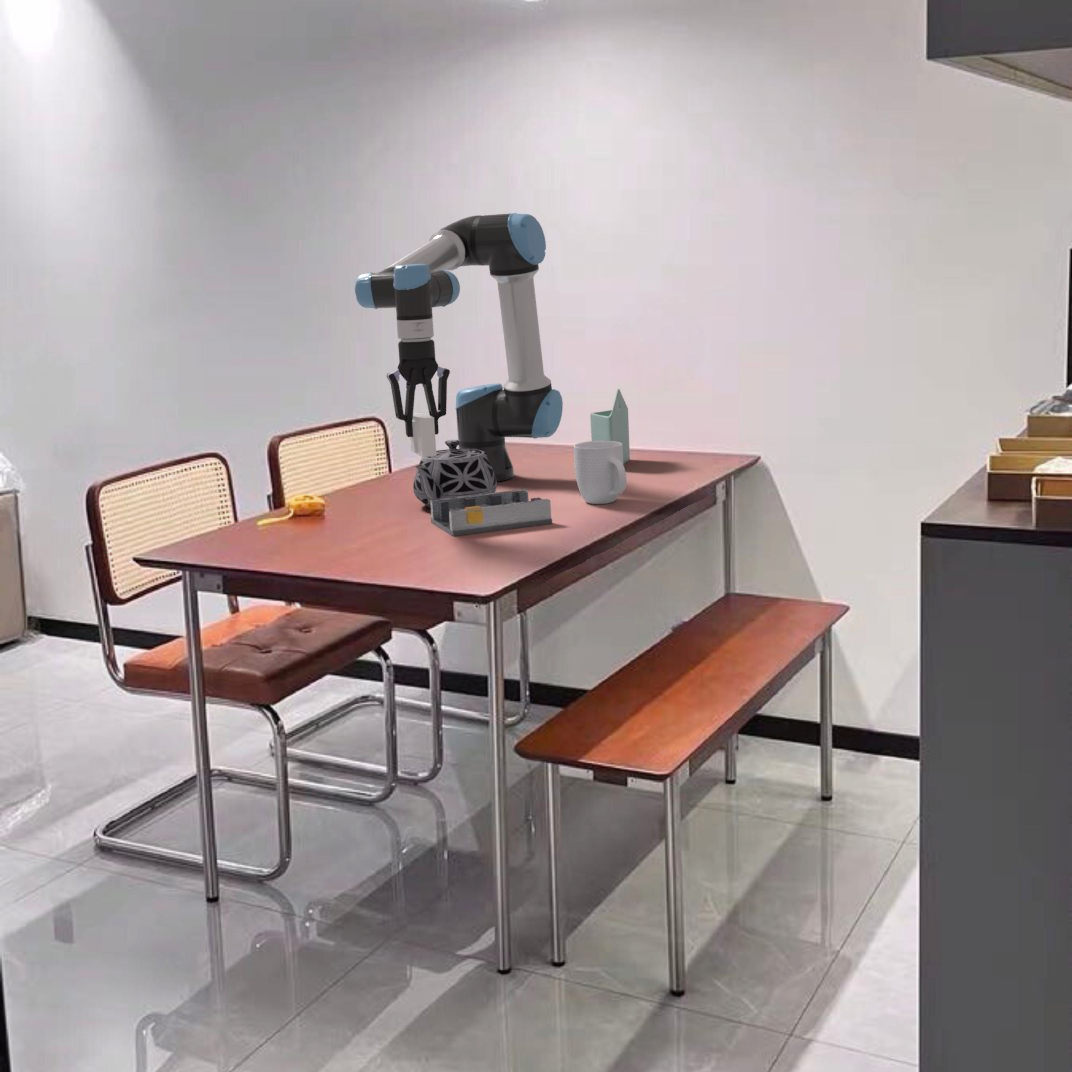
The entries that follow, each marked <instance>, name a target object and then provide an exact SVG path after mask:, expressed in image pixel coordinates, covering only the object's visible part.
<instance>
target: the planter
mask: <svg viewBox="0 0 1072 1072" xmlns="http://www.w3.org/2000/svg"><path fill="white" fill-rule="evenodd" d="M614 397H615V398H614V401H613V402H614V403H613V405H612V409H610V410H603V411H596V412H591V413H590V415H589V416H590V434H591V435H590V436H591V437H590V438H591V440H590V441H616V442H620V443H622V447H623V465H624V464H626V463H628V461H630V459H631V458H630V457H631V453H630V427H629V407H628V405H627V403H626V400H625V398H624V397H623V394H622V392H621V390H620V388H617V390H616V393H615V396H614Z"/></svg>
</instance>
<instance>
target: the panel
mask: <svg viewBox="0 0 1072 1072" xmlns="http://www.w3.org/2000/svg"><path fill="white" fill-rule="evenodd" d="M412 421H415V422H416V430H417V445H418V453H415V454H416V455H418V456H420V457H421V458H422V457H428V456H436V451H437V443H436V442H437V440H436V435H435V425H434V417H432V416H430V415H429V414H427V413H424V412H421V411H420V412H413V420H412ZM409 443H410V446H411V437H409ZM410 452H412V448H411V447H410Z"/></svg>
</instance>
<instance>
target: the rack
mask: <svg viewBox="0 0 1072 1072" xmlns="http://www.w3.org/2000/svg"><path fill="white" fill-rule="evenodd" d="M529 499H530V500H529ZM430 504H431V508H430V523H431V524H433V525H435V526H436V527H437V528H439V529H441V530H443V531H444V532H446V533H447V534H449V535H451V536H452V537H458V536H459V537H460V536H465V535H473V534H474V535H475V534H481V533H482V534H483V533H490V532H498V531H503V530H504V531H505V530H512V529H521V528H528V527H535V526H536V527H537V526H544V525H551V524H553V519H552V509H551V508H552V507H551V504H552V503H551V499H548V498H546V499H543V498H541V497H534V498H529V490H528V489H527V488H522V489H514V490H506V491H497V492H496V491H495V493H487V494H478V495H470V496H461V497H453V498H444V499H436V500H430Z"/></svg>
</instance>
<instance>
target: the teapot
mask: <svg viewBox="0 0 1072 1072" xmlns="http://www.w3.org/2000/svg"><path fill="white" fill-rule="evenodd" d="M459 443H460V441H459V440H458V439H447V440H446V441H444V444H445V445H446V446H447V447H448V448H447V449H439V450H436V456H428V457H421V459H420V461H419V464H417V465H415V466H414V468H416V472H415V475H414V478H413V490H412V491H413V493H414V496H415V497H416V499H417V500H419V502H420V503H422V504H424V506H426V507H427V508H430V509H431V504H430V500H436V499H444V498H453V497H461V496H470V495H478V494H487V493H495V492H496V491H497V487H498V483H497V480H496V476H495V473H494V471H493V469H492V466H491V464H490V463H489V461H488V459H487V454H486V453H485V452H483V451H481V450H476V449H459V448H457V447H459Z"/></svg>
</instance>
